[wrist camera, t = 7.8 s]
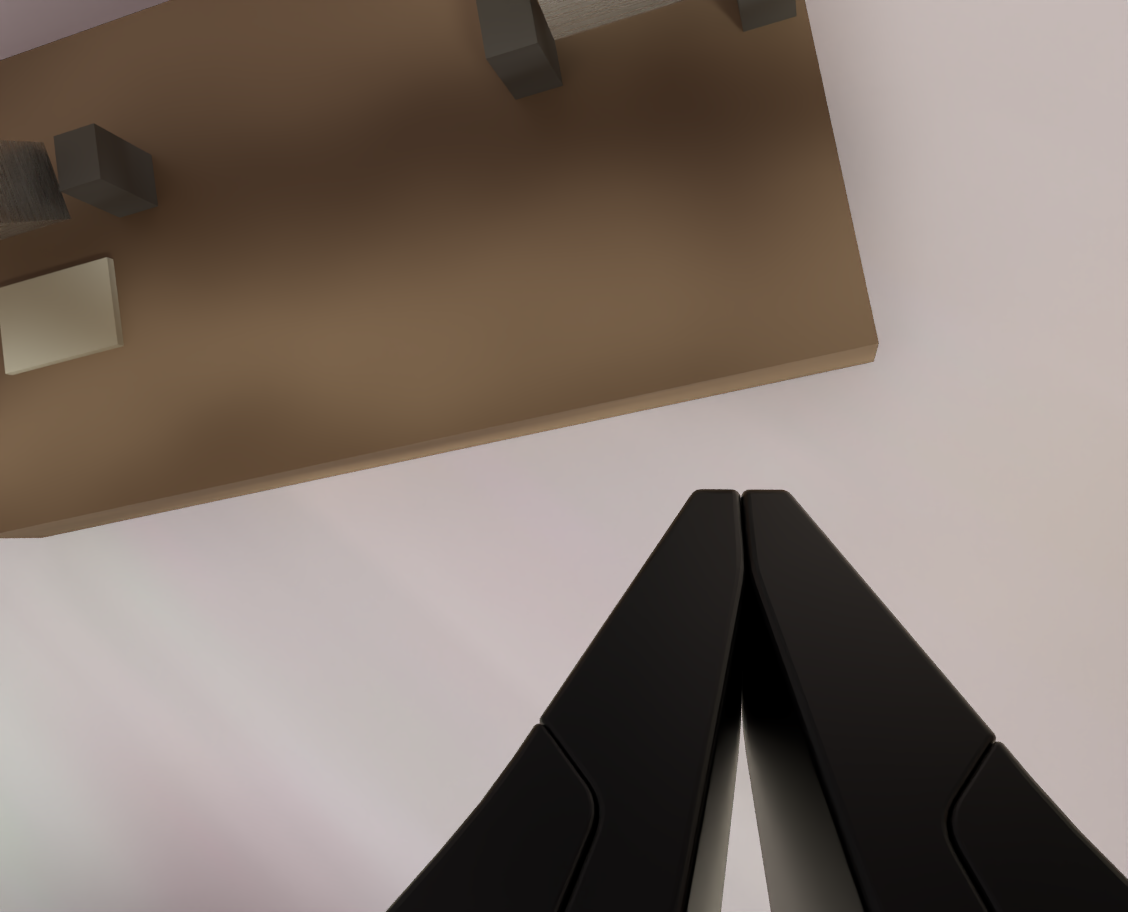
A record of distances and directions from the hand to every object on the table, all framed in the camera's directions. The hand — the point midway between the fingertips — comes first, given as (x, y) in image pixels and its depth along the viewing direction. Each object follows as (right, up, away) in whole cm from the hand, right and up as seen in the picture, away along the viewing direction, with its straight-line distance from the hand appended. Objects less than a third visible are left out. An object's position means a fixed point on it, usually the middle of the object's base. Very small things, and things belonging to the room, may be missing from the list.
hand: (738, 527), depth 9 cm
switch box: (-6, +6, +14) cm, 16 cm away
